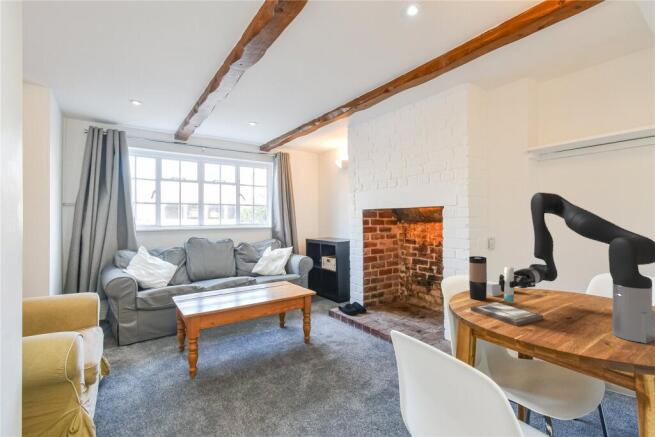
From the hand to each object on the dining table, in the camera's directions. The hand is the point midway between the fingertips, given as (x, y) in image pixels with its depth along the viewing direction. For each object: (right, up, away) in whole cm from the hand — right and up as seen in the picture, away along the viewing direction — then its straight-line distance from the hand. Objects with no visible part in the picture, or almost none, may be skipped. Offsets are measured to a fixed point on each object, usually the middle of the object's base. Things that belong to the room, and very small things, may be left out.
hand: (505, 284), depth 118 cm
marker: (+2, -7, +2) cm, 8 cm away
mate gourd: (+25, -13, +42) cm, 50 cm away
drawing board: (+4, -14, +7) cm, 16 cm away
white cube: (+14, -13, +37) cm, 41 cm away
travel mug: (+4, -14, +30) cm, 33 cm away
